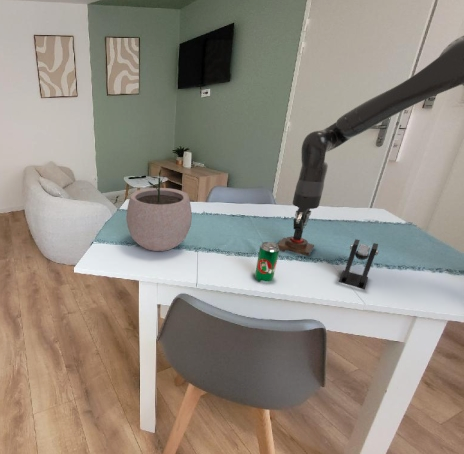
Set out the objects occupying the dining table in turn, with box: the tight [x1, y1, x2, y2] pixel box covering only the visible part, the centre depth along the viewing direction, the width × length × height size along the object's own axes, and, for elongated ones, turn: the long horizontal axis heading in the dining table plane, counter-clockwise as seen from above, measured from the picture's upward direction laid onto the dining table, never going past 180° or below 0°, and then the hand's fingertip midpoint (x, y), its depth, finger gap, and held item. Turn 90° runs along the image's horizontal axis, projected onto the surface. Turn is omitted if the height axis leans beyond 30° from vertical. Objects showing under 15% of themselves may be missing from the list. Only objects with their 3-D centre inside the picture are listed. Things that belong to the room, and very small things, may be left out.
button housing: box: [276, 235, 315, 257], centre depth 105 cm, size 10×8×4 cm
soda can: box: [254, 241, 280, 282], centre depth 88 cm, size 5×5×12 cm
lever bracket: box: [338, 239, 379, 290], centre depth 84 cm, size 8×6×13 cm
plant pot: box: [126, 169, 193, 252], centre depth 108 cm, size 24×24×30 cm
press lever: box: [354, 243, 372, 261], centre depth 86 cm, size 14×3×3 cm, turn 136°
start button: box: [291, 236, 304, 243], centre depth 105 cm, size 4×4×2 cm
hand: (296, 238), depth 104 cm, fingers closed
